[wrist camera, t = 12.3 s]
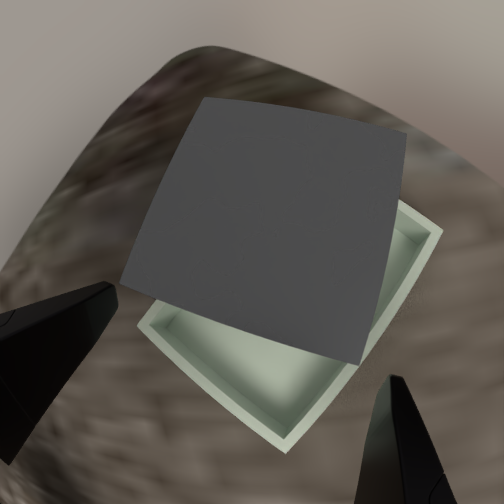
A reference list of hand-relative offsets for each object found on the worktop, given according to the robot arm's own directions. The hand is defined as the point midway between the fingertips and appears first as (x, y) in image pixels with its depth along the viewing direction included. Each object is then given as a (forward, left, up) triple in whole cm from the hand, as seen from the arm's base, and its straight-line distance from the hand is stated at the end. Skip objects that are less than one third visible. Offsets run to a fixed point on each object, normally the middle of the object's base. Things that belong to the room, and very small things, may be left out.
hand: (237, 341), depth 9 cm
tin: (+3, +1, -10) cm, 10 cm away
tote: (+3, +1, -10) cm, 11 cm away
